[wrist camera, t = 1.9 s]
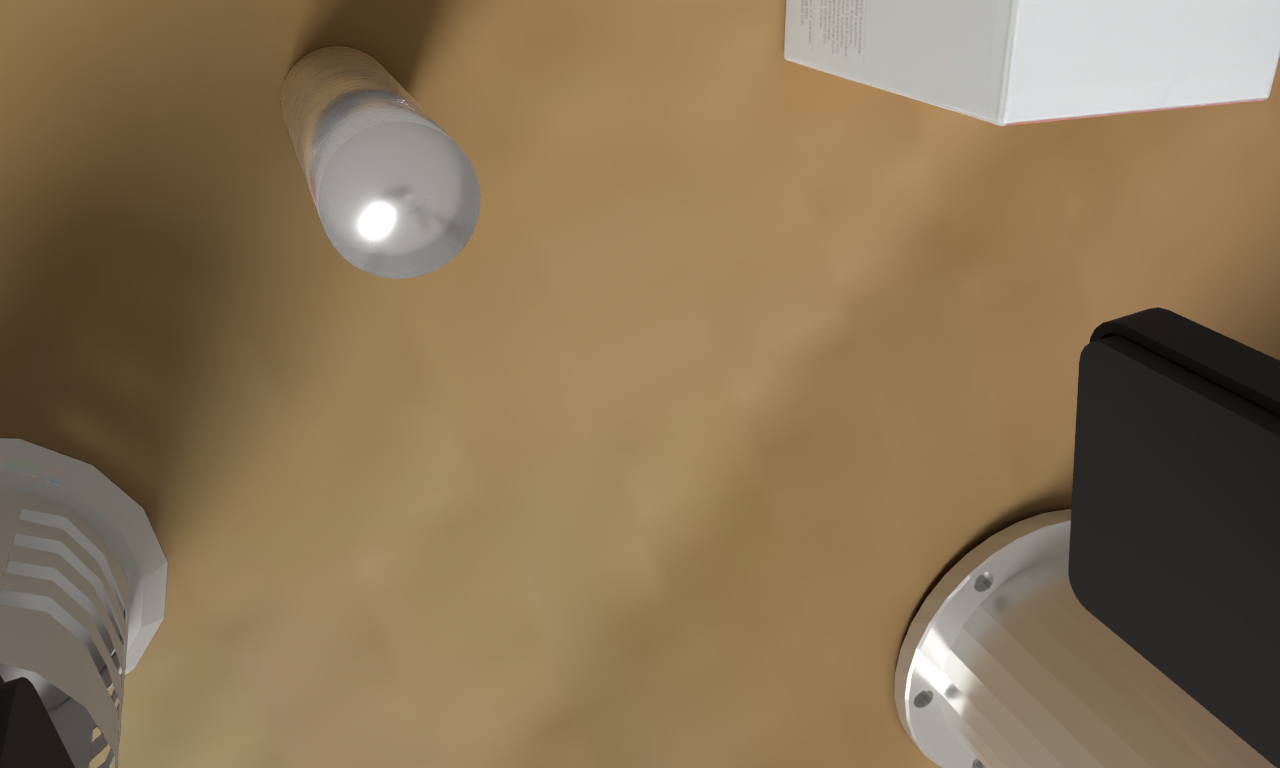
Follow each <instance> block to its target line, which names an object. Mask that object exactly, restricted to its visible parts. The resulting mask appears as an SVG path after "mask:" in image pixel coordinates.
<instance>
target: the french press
mask: <svg viewBox="0 0 1280 768" xmlns="http://www.w3.org/2000/svg"><path fill="white" fill-rule="evenodd" d="M167 567H168V561H167V559H166V557H165V555H164V553H163V550H162V548H161V546H160V544H159V542H158V539H157V537H156V535H155V533H154V531H153V528H152V526H151V524H150V522H149V520H148V518H147V515H146V513H145V511H144V509H143V508H142V507H141V506H140V505H139V504H137V503H136V502H135V501H134V500H133V499H132V498H130V497H129V496H128V495H127V494H126V493H125V492H123V491H122V490H121V489H120V488H119V487H118V486H116V485H115V484H114V483H113V482H112V481H110V480H109V479H108V478H107V477H106V476H105V475H103V474H102V473H101V472H100V471H99V470H98V469H96V468H95V467H94V466H93V465H91V464H88V463H85V462H83V461H80V460H77V459H74V458H72V457H69V456H66V455H63V454H61V453H58V452H55V451H52V450H49V449H47V448H44V447H41V446H38V445H36V444H33V443H30V442H27V441H24V440H22V439H8V438H0V676H1V677H2V678H3V680H4V682H7V681H10V680H14V679H17V678H20V677H25V678H27V679H28V680H29V681H30V682H31V683H32V684H33V685H34V687H35V689H36V690H37V692H38V694H39V696H40V698H41V700H42V702H43V704H44V706H45V708H46V710H47V712H48V714H49V716H50V718H51V720H52V722H53V724H54V726H55V728H56V730H57V732H58V734H59V736H60V738H61V740H62V742H63V744H64V746H65V748H66V750H67V752H68V754H69V756H70V758H71V760H72V762H73V764H74V766H75V768H89V764H90V761H91V760H92V759H93V758H94V757H95V756H96V755H97V754H99V753H100V752H101V751H102V750H103V749H104V748H105V747H106V746H107V744H109V745H110V747H111V749H110V752H109V754H108V756H107V759H106V761H105V762H104V763H103V764H102V765H100V766H99V767H98V768H110V766H111V764H112V761H113V759H114V757H115V768H118V747H119V741H120V734H121V712H122V705H123V698H124V677H125V675H126V674H128V673H129V672H130V671H131V670H133V669H134V668H135V667H136V665H137V663H138V661H139V660H140V658H141V656H142V655H143V653H144V651H145V650H146V648H147V646H148V644H149V643H150V641H151V639H152V638H153V636H154V634H155V632H156V631H157V629H158V627H159V626H160V624H161V622H162V621H163V619H164V614H165V598H166V583H167ZM113 685H114V688H115V689H114V691H113V693H112V695H111V696H110V694H109V692H108V689H109V688H110V687H112V686H113ZM121 687H122V698H121ZM117 696H118V699H119V704H118V706H117V709H116V707H115V705H114V703H115V701H116V699H117ZM118 720H119V731H118ZM97 726H98V728H99V729H100V731H101V733H102V734H101V735H100V736H99V737H98V738H96V739H95V740H94V741H93V742H92V736H93V730H94V729H95V728H96V727H97Z"/></svg>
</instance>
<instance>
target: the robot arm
mask: <svg viewBox="0 0 1280 768" xmlns="http://www.w3.org/2000/svg"><path fill="white" fill-rule="evenodd" d="M894 697H895V702H896V707H897V712H898V716H899V719H900V721H901V723H902V725H903V727H904V729H905V731H906V733H907V734H908V736H909V737H910V738H911V739H912V740H913V742H914V743H915V744H916V745H917V746H918V748H919V749H920V750H921V751H922V753H923V754H924V755H925V756H927V757H928V758H929V759H930V760H932V761H933V762H934V763H936V764H937V765H938V766H940V767H943V768H1280V361H1279V360H1277V359H1274V358H1272V357H1270V356H1268V355H1266V354H1263V353H1261V352H1259V351H1257V350H1255V349H1253V348H1250V347H1248V346H1246V345H1244V344H1242V343H1239V342H1237V341H1235V340H1233V339H1231V338H1228V337H1226V336H1224V335H1222V334H1220V333H1217V332H1215V331H1213V330H1211V329H1209V328H1207V327H1204V326H1202V325H1200V324H1198V323H1196V322H1193V321H1191V320H1189V319H1187V318H1185V317H1182V316H1180V315H1178V314H1176V313H1174V312H1172V311H1169V310H1166V309H1162V308H1152V309H1147V310H1144V311H1140V312H1137V313H1134V314H1131V315H1127V316H1124V317H1121V318H1118V319H1115V320H1111V321H1108V322H1105V323H1102V324H1101V325H1100V326H1098V327H1097V328H1096V329H1095V330H1094V332H1093V334H1092V336H1091V338H1090V343H1089V344H1088V345H1086V346H1085V347H1084V349H1083V351H1082V352H1081V356H1080V361H1079V378H1078V396H1077V415H1076V434H1075V452H1074V471H1073V490H1072V508H1071V509H1066V510H1060V511H1053V512H1047V513H1042V514H1039V515H1036V516H1034V517H1031V518H1028V519H1025V520H1022V521H1019V522H1017V523H1015V524H1013V525H1011V526H1009V527H1007V528H1005V529H1004V530H1002V531H1000V532H998V533H996V534H994V535H992V536H991V537H989V538H988V539H986V540H985V541H984V542H982V543H981V544H980V545H978V546H977V547H975V548H974V549H973V550H971V551H970V552H969V553H967V554H966V555H965V556H964V557H963V558H962V559H961V560H960V561H959V562H958V563H957V564H956V565H955V566H954V567H952V568H951V569H950V570H949V571H948V572H947V573H946V574H945V575H944V577H943V578H942V579H941V580H940V581H939V583H938V584H937V585H936V586H935V588H934V589H933V590H932V591H931V593H930V594H929V595H928V596H927V598H926V599H925V601H924V603H923V604H922V606H921V608H920V609H919V611H918V613H917V614H916V616H915V618H914V619H913V621H912V623H911V625H910V627H909V630H908V632H907V635H906V637H905V640H904V642H903V644H902V647H901V649H900V654H899V658H898V663H897V667H896V672H895V694H894ZM0 768H75V766H74V764H73V762H72V760H71V758H70V756H69V754H68V752H67V750H66V748H65V746H64V744H63V742H62V740H61V738H60V736H59V734H58V732H57V730H56V728H55V726H54V724H53V722H52V720H51V718H50V716H49V714H48V712H47V710H46V708H45V706H44V704H43V702H42V700H41V698H40V696H39V694H38V692H37V690H36V689H35V687H34V685H33V684H32V683H31V682H30V681H29V680H28V679H27V678H25V677H20V678H17V679H14V680H10V681H7V682H4V680H3V678H2V677H1V676H0Z"/></svg>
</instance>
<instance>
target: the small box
mask: <svg viewBox="0 0 1280 768" xmlns="http://www.w3.org/2000/svg"><path fill="white" fill-rule="evenodd" d="M1279 55H1280V0H787V1H786V20H785V42H784V58H785V59H786V60H787V61H791V62H794V63H797V64H801V65H804V66H807V67H810V68H813V69H816V70H819V71H823V72H827V73H830V74H833V75H836V76H839V77H842V78H846V79H849V80H852V81H856V82H860V83H863V84H866V85H869V86H873V87H875V88H879V89H882V90H885V91H888V92H892V93H895V94H899V95H902V96H905V97H908V98H912V99H915V100H918V101H922V102H925V103H928V104H932V105H935V106H938V107H942V108H945V109H948V110H952V111H955V112H958V113H961V114H964V115H968V116H971V117H974V118H977V119H981V120H984V121H987V122H990V123H993V124H996V125H999V126H1009V125H1019V124H1030V123H1040V122H1050V121H1059V120H1069V119H1078V118H1088V117H1099V116H1109V115H1120V114H1129V113H1139V112H1150V111H1160V110H1169V109H1179V108H1190V107H1201V106H1211V105H1222V104H1231V103H1240V102H1251V101H1265V100H1266V99H1267V98H1268V97H1269V95H1270V91H1271V87H1272V83H1273V79H1274V75H1275V71H1276V68H1277V64H1278V59H1279Z"/></svg>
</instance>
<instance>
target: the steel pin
mask: <svg viewBox="0 0 1280 768" xmlns="http://www.w3.org/2000/svg"><path fill="white" fill-rule="evenodd" d="M281 110H282V115H283V119H284V122H285V124H286V127H287V130H288V133H289V135H290V138H291V141H292V143H293V146H294V149H295V151H296V154H297V157H298V160H299V162H300V165H301V168H302V170H303V173H304V176H305V179H306V181H307V184H308V187H309V189H310V192H311V195H312V198H313V200H314V203H315V206H316V208H317V211H318V214H319V217H320V219H321V222H322V225H323V227H324V230H325V232H326V234H327V236H328V238H329V240H330V241H331V243H332V244H333V246H334V247H335V248H336V250H337V251H338V252H339V253H340V254H341V255H342V256H343V257H344V258H345V259H346V260H348V261H349V262H350V263H352V264H353V265H355V266H356V267H358V268H359V269H362V270H364V271H366V272H368V273H371V274H374V275H377V276H381V277H386V278H397V279H400V278H412V277H417V276H421V275H424V274H427V273H430V272H432V271H434V270H437V269H439V268H440V267H442V266H443V265H445V264H447V263H448V262H449V261H450V260H452V259H453V258H454V257H455V256H456V255H457V254H458V253H459V252H460V251H461V250H462V249H463V247H464V246H465V245H466V243H467V242H468V240H469V239H470V237H471V235H472V233H473V231H474V229H475V226H476V224H477V220H478V216H479V210H480V189H479V183H478V179H477V175H476V173H475V170H474V168H473V166H472V164H471V162H470V160H469V159H468V157H467V156H466V154H465V153H464V152H463V150H462V149H461V148H460V147H459V146H458V145H457V144H456V143H455V142H454V141H453V140H452V139H451V137H450V136H449V135H448V134H447V133H446V132H445V131H444V130H443V129H442V128H441V127H440V126H439V125H438V124H437V123H436V122H435V121H434V120H433V119H432V118H431V117H430V116H429V114H428V113H427V112H426V111H425V110H424V109H423V108H422V107H421V106H420V105H419V104H418V103H417V102H416V101H415V100H414V99H413V98H412V97H411V96H410V95H409V94H408V92H407V91H406V90H405V89H404V88H403V87H402V86H401V85H400V84H399V83H398V82H397V81H396V80H395V79H394V78H393V77H392V76H391V75H390V74H389V73H388V72H387V70H386V69H385V68H384V67H383V66H382V65H381V64H380V63H379V62H378V61H376V60H375V59H374V58H373V57H371V56H370V55H368V54H366V53H364V52H362V51H360V50H357V49H354V48H351V47H345V46H329V47H324V48H320V49H317V50H314V51H312V52H310V53H308V54H307V55H305V56H304V57H302V58H301V59H300V60H299V61H298V62H297V63H296V64H295V65H294V66H293V67H292V69H291V70H290V71H289V73H288V75H287V77H286V79H285V81H284V84H283V88H282V92H281Z"/></svg>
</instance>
